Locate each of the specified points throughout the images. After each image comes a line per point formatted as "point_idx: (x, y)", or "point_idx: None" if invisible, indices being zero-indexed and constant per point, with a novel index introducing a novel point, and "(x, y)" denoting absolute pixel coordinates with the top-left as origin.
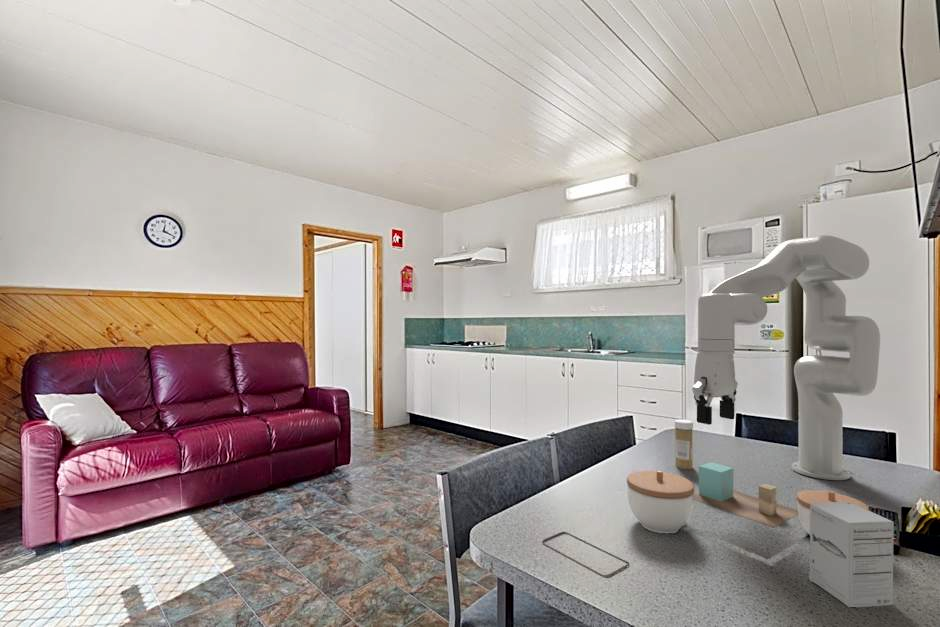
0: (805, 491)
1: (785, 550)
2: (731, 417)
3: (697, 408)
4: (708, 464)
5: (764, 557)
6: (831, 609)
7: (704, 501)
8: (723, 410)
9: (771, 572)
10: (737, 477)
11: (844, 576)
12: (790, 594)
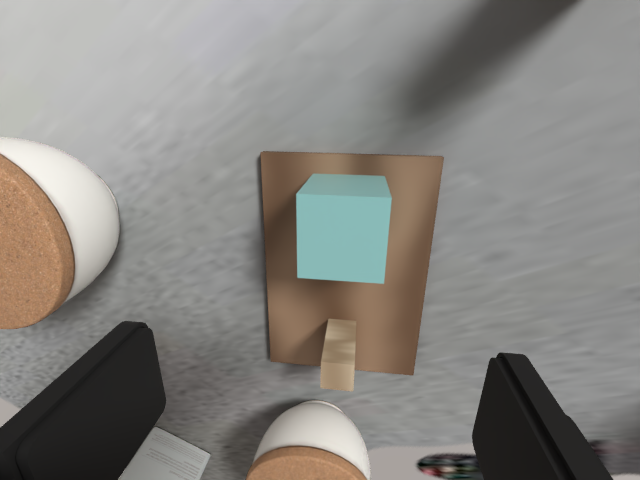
0: (318, 467)
1: (214, 386)
2: (476, 445)
3: (23, 415)
4: (348, 207)
5: None
6: None
7: (274, 211)
8: (508, 440)
9: None
10: (634, 152)
11: None
12: None
